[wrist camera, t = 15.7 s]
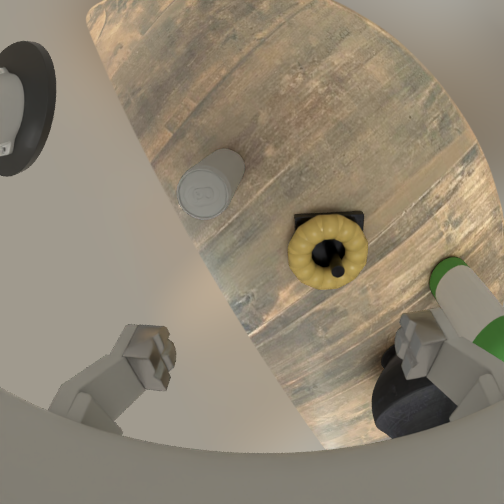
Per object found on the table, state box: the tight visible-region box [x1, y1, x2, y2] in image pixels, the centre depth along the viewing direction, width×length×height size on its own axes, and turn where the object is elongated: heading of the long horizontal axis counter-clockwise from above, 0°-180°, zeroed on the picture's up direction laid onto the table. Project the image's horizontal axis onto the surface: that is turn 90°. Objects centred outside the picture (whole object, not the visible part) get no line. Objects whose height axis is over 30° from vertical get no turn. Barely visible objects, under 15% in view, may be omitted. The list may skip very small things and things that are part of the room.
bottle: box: [430, 257, 504, 362], centre depth 25 cm, size 8×8×30 cm
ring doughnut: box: [288, 214, 368, 290], centre depth 35 cm, size 10×10×3 cm
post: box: [294, 211, 364, 278], centre depth 34 cm, size 9×9×7 cm
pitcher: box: [372, 344, 458, 439], centre depth 33 cm, size 17×21×30 cm
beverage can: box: [177, 149, 245, 220], centre depth 28 cm, size 5×5×12 cm
